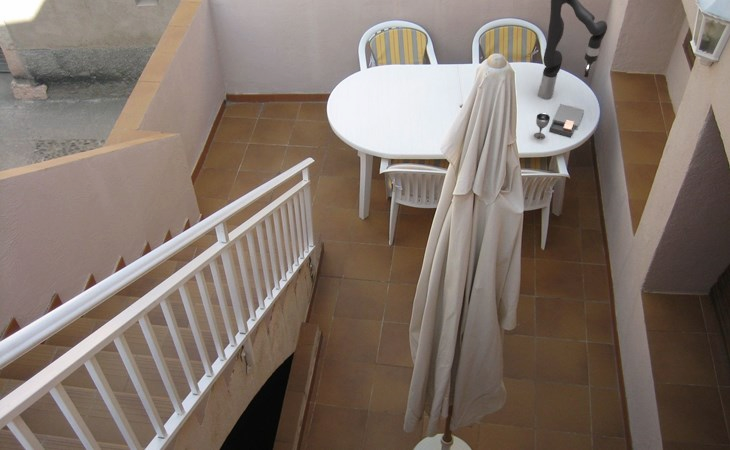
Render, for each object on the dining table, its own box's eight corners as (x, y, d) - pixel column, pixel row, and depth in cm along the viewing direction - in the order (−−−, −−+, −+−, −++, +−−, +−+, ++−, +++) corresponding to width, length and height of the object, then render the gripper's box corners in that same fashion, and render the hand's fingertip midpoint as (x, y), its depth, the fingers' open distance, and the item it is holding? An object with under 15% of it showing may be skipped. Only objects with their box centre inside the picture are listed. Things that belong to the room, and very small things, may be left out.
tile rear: (563, 128, 441) (564, 126, 439) (566, 121, 442) (566, 119, 440) (571, 130, 439) (571, 128, 437) (573, 123, 441) (574, 121, 438)
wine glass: (531, 132, 440) (535, 113, 430) (543, 131, 441) (547, 112, 430) (534, 140, 435) (538, 121, 424) (547, 139, 435) (551, 120, 424)
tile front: (564, 128, 441) (562, 131, 440) (564, 124, 436) (563, 127, 435) (571, 130, 439) (570, 133, 438) (572, 126, 435) (571, 129, 434)
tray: (549, 131, 441) (550, 127, 438) (552, 123, 446) (553, 119, 444) (570, 137, 436) (571, 133, 434) (574, 129, 442) (575, 125, 440)
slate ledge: (552, 123, 447) (552, 119, 445) (559, 107, 459) (560, 103, 457) (576, 129, 442) (577, 125, 440) (583, 113, 454) (584, 109, 452)
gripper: (588, 45, 426) (582, 69, 438) (583, 56, 417) (577, 80, 430) (600, 48, 423) (594, 72, 436) (596, 59, 415) (589, 83, 427)
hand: (586, 76), depth 433 cm, fingers closed
